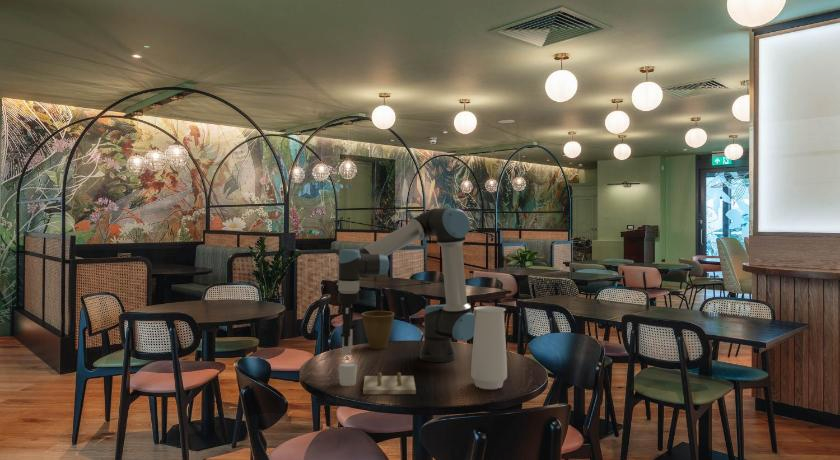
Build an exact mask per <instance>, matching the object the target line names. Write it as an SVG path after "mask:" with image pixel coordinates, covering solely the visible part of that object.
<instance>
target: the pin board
mask: <svg viewBox="0 0 840 460" xmlns="http://www.w3.org/2000/svg"><path fill="white" fill-rule="evenodd" d="M382 373H383V372H377V375H364V381H363V387H362V388H363V389H362V395H416V393H417V391H416V390H417V389H416V388H417V387H416V383H415V377H414V375H402V373H401V372H396V375H382Z"/></svg>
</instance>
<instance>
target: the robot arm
mask: <svg viewBox="0 0 840 460" xmlns="http://www.w3.org/2000/svg"><path fill="white" fill-rule="evenodd" d="M470 229H471V221H470V218H469V217H468V215H467V213H466V212H465V211H464V210H462V209H460V208H454V207H450V208H449V207H448V208H447V207H446V208H445V207H443V208H431V209H429V210H427V211H424V212H423V213H420V214H419V215H417V216H415V217H413V218H411V219H409V221H408V223H406V224H405V225H403V226H401V227H399V228H398V229H397V228H396V230H394V231H392V232H389V233H388V234H386V235H385V236H381V238H379V239H377V240H376V241H373V242H372V243H369V244H368V245H366V246H363V247H362V248H360V249H356V248H355V249H353V248H352V249H351V248H350V249H349V248H347V249H346V248H344V249H340V250H339V253H338V281H337V282H336V286H338V288H337V289H338V294H337V302H338V303H339V304H343V305H344V307H342V310H341V311H342V333H340V337H342V339H341V340H342V345H341V347H342V349H341V352H342V353H341V355H342V356H351V348H352V347H353V330H354V329H355V325H354V323H353V321H354V320H353V319H354V312H355V308H354V307H353V306H354V305H355V304H358V303H359V301H360V293H359V292H360V276H381V275H385V274H387V272H388V271H389V269H390V261H389V258H388V256H389V255H392V254H394V253H395V252H397V251H399V250H401V249H402V248H405V247H406V246H408V245H410V244H412V243H414V242H415V241H417V240H418V241H423V240H424V239H427V238H430V237H436V243H437V244H438V245H439V246H440V247H441V249H440V250H441V259H442V262H441V263H442V271H443V282H444V295H445V304H433V305H432V304H431V305H426V306H425V308H424V314H423V315H424V318H423V319H424V321H423V322H424V325H423V327H424V331H423V332H424V334H423V335H424V338H423V339H424V340H423V343H422V346H421V349H420V353H419V358H420V360H422V361H426V362H431V363H432V362H433V363H445V362H451V361H454V360H456V352H455V349H454V345H453V343H452V339H453V340H456V341H462V342H463V341H464V342H465V341H469V340H470V339H473V338H474V328H475V318H476V314H474V313H473V312H472V305H471V304H470V303H468V297H467V286H466V275H465V265H464V253H463V252H464V251H463V244H464V243H465V242H466V236H467V235H468V233H469V231H470Z"/></svg>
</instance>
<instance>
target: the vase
mask: <svg viewBox="0 0 840 460" xmlns="http://www.w3.org/2000/svg"><path fill="white" fill-rule="evenodd" d="M473 310H474V311H475V316H476V318H475V328H474V336H473V337H472V339H473V340H472V353H471V364H470V365H471V366H470V376H471V379H473V381H474V386H475V387H477V388H478V387H479V389H482V390H497V389H498V388H499V389H501V388H503V386H504V382H505V380H506V379H507V378H508V361H507V344H506V343H507V342H506V330H505V329H506V328H505V327H506V326H505V313H504V312H505V311H506V310H507V309H506V307H501V306H496V305H495V306H493V305H486V306H485V305H482V306H480V305H479V306H476V307H475V306H474V307H473Z"/></svg>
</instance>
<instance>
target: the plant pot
mask: <svg viewBox="0 0 840 460" xmlns="http://www.w3.org/2000/svg"><path fill="white" fill-rule="evenodd" d="M361 317H362V323H363V328H364V332H365V337H366V340H367V343H368V345H369V347H370V349H373V350H384V349H386V348H387V346H388V343H389V340H390V337H391V334H392V333H391V332H392V329H393V324H394V318H395V312H393V311H387V310H371V311H365V312H362V313H361Z"/></svg>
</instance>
